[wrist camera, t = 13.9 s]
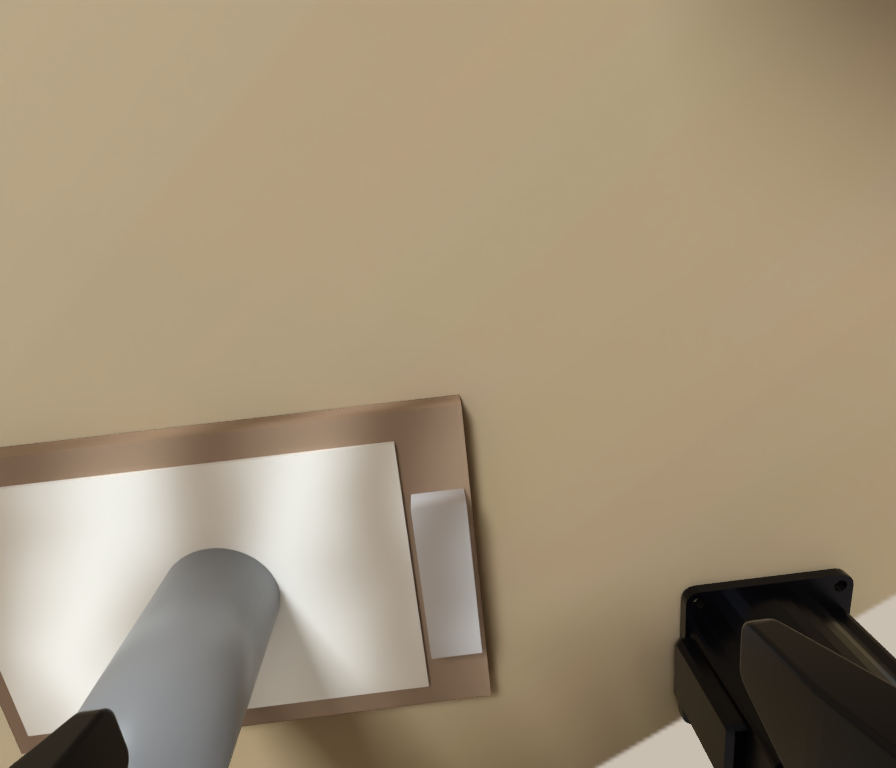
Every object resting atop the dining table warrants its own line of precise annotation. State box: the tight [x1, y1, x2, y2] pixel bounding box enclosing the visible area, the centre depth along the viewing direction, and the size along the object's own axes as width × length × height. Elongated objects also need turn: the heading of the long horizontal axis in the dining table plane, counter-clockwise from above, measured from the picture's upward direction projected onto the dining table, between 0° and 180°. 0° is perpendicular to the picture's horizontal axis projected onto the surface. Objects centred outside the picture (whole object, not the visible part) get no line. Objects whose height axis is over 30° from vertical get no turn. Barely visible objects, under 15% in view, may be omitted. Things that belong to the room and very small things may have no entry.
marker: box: [77, 548, 280, 768], centre depth 15 cm, size 4×4×10 cm
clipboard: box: [0, 395, 491, 754], centre depth 20 cm, size 18×12×2 cm, turn 96°
